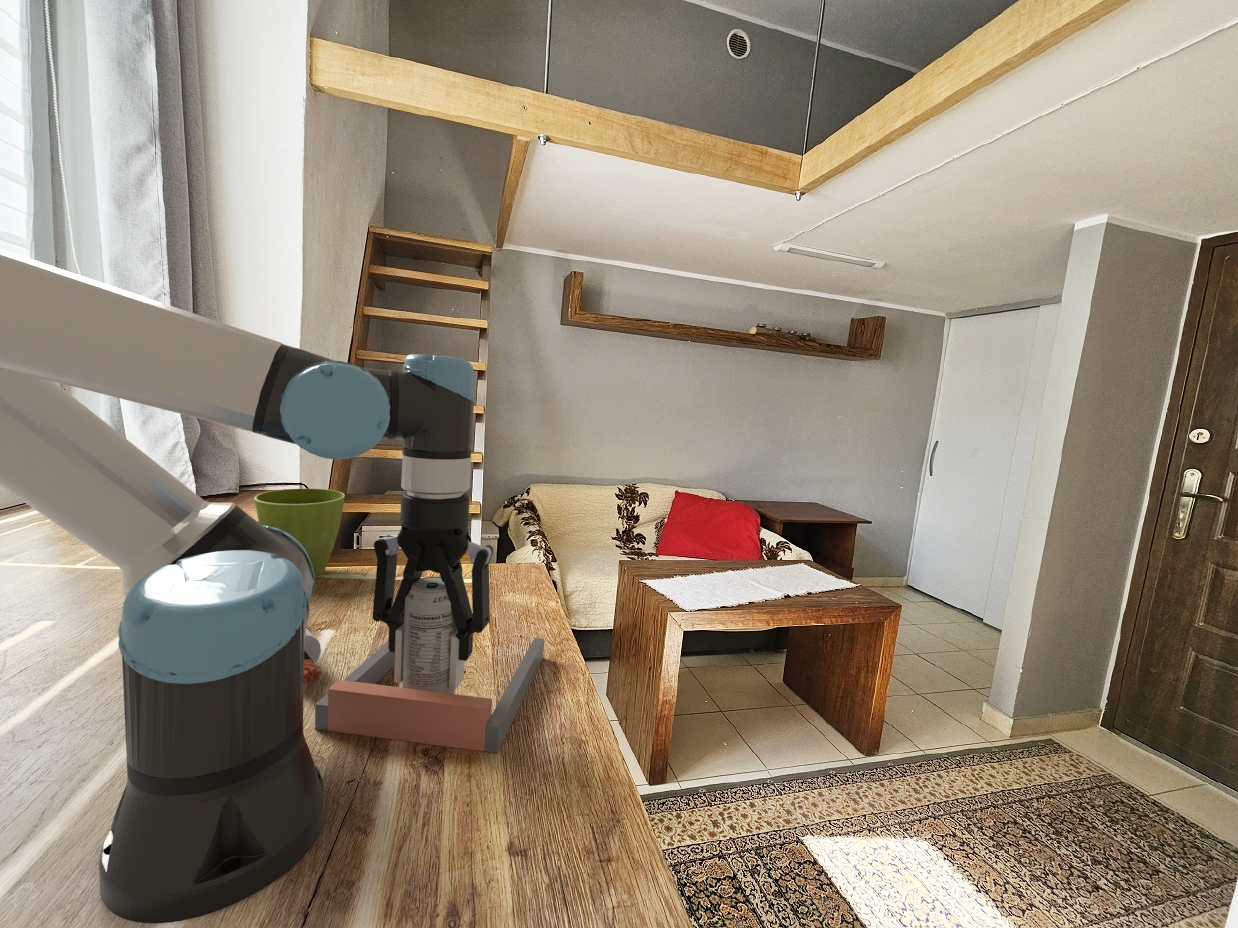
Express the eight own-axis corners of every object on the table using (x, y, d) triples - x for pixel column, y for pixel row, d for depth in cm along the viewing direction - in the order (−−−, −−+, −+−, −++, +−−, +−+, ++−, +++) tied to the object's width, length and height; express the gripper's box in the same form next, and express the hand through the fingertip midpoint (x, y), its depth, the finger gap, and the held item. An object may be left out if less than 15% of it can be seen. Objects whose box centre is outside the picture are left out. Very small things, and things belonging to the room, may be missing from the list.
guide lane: (497, 753, 59) (499, 710, 59) (315, 728, 61) (315, 687, 60) (543, 657, 81) (545, 626, 80) (407, 642, 83) (408, 610, 82)
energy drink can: (457, 688, 69) (462, 575, 67) (451, 715, 63) (456, 593, 62) (407, 689, 68) (411, 574, 66) (396, 717, 62) (400, 592, 60)
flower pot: (307, 594, 97) (308, 507, 95) (234, 583, 100) (233, 498, 98) (359, 569, 112) (361, 493, 110) (295, 560, 114) (295, 485, 112)
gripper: (525, 493, 66) (515, 673, 68) (374, 479, 67) (371, 656, 70) (507, 505, 58) (496, 707, 61) (338, 489, 60) (335, 686, 62)
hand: (429, 679), depth 65 cm, fingers closed on energy drink can, 6 cm apart
